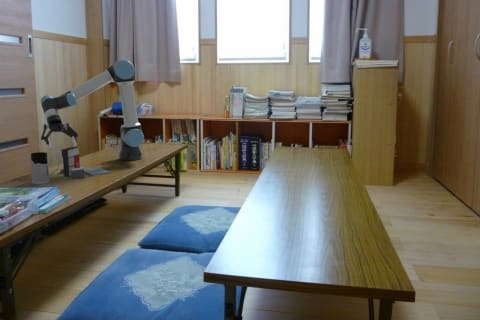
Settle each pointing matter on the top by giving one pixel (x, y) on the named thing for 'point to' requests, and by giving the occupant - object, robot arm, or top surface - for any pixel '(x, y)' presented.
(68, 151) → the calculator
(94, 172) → the rubber mat
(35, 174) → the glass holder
